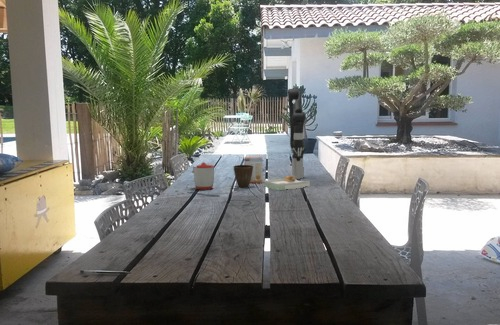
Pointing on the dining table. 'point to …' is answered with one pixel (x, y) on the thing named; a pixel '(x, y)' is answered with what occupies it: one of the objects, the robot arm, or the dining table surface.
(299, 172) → the robot arm
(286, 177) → the block
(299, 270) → the dining table surface
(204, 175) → the citrus juicer
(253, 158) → the cracker box
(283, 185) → the box
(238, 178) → the plant pot
